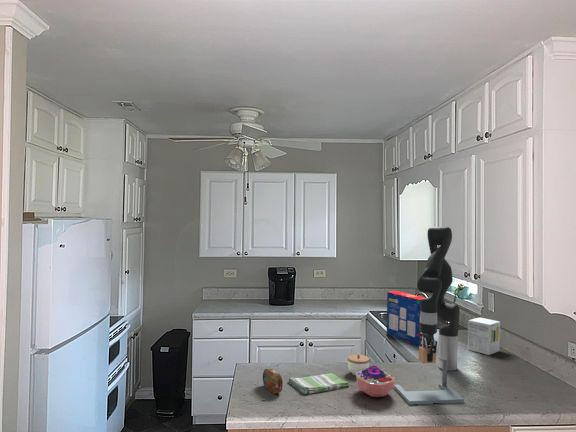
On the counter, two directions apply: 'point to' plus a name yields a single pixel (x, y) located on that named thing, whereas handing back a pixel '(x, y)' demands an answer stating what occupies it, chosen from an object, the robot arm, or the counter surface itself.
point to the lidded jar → (357, 362)
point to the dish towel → (318, 383)
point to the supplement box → (484, 335)
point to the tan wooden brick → (425, 355)
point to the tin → (272, 381)
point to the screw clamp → (431, 392)
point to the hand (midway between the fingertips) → (427, 359)
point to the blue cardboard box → (404, 316)
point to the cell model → (375, 381)
